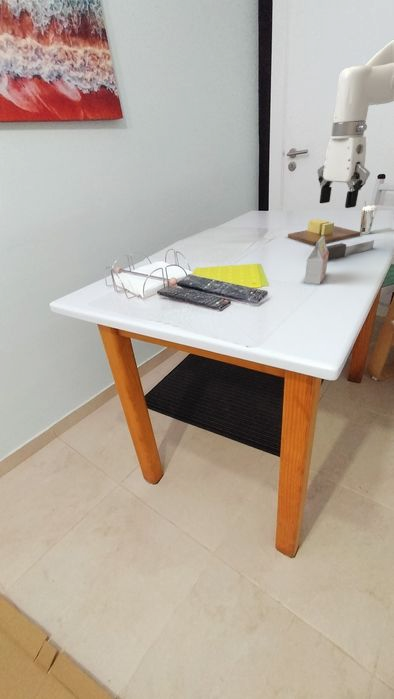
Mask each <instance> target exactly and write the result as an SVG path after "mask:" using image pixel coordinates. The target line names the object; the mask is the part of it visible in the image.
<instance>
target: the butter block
mask: <svg viewBox="0 0 394 699" xmlns="http://www.w3.org/2000/svg"><path fill="white" fill-rule="evenodd" d="M326 223H330V221H328V220H323V219H319V218H317V219H312V220H308V223H307V230H308V231H310V232H314V233H317V234H321V231H322V224H326Z"/></svg>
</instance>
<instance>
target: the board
mask: <svg viewBox="0 0 394 699" xmlns="http://www.w3.org/2000/svg"><path fill="white" fill-rule="evenodd" d="M322 236H324V239H325V243H326V244H328V243H333V242H338V241H342V240H346V239H351V238H356V237H360V236H361V233H360V231H358V230H353V229H349V228H345V227H340V226H336V225H334V228H333V233H332V234H328V235H321V234H317V233H314V232H310V231H308V229H305V230H302V231H297V232H292V233H288V234H287V238H289V239H291V240H294V241H298V242H301V243H303V244H307V245H310V246H313V247H315V246H316V243H317V242H318V241H319V240H320V238H321V237H322Z"/></svg>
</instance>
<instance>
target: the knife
mask: <svg viewBox="0 0 394 699" xmlns="http://www.w3.org/2000/svg"><path fill="white" fill-rule="evenodd" d="M374 244H375V240H369V241H366V242H359V243H356V244H352V245H347V244H346V243H343V242H340V243H336V244H331V245H326V246H327V249H328V252H329V254H328V261H333V260H337V259H341V258H344V257H345V256H348V255H353V254H357V253H361V252H365V251H368V250H369V251H370V250H372V249H374Z"/></svg>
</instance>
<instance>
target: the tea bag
mask: <svg viewBox="0 0 394 699" xmlns="http://www.w3.org/2000/svg"><path fill="white" fill-rule="evenodd" d="M327 246H328V245H327V243H325V239H324V236H322V237H321V238H320V240H319V241H318V242H317V243H316V245H315V246H314V247H313V250H311V252H310V254H309V256H308V258H307V259H306V267H305V276H304V283H307V284H315V285H320V284H321V283H322V282H323V280H324V278H325V277H326V275H327V268H328V262H329V260H328V254H329V252H328V249H327Z"/></svg>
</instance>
